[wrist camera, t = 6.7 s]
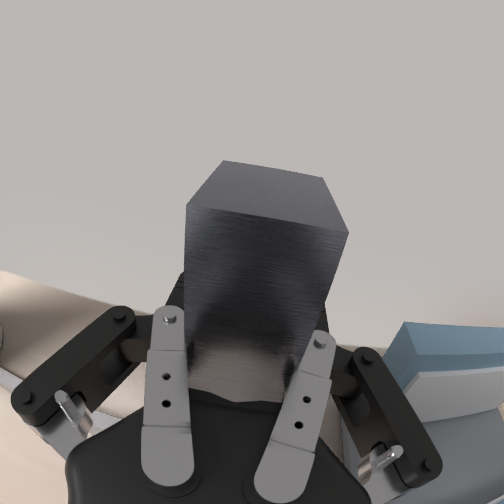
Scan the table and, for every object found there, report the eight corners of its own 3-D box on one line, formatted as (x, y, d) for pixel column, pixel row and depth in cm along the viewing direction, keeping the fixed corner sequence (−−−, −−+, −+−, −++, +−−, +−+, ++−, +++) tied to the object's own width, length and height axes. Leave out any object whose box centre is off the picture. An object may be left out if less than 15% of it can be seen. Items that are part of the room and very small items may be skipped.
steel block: (190, 445, 14) (186, 204, 7) (204, 383, 19) (223, 160, 11) (255, 456, 14) (349, 232, 7) (261, 393, 19) (322, 177, 11)
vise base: (344, 595, 6) (441, 601, 1) (338, 402, 20) (390, 320, 15) (518, 521, 6) (598, 469, 1) (483, 393, 20) (536, 328, 15)
